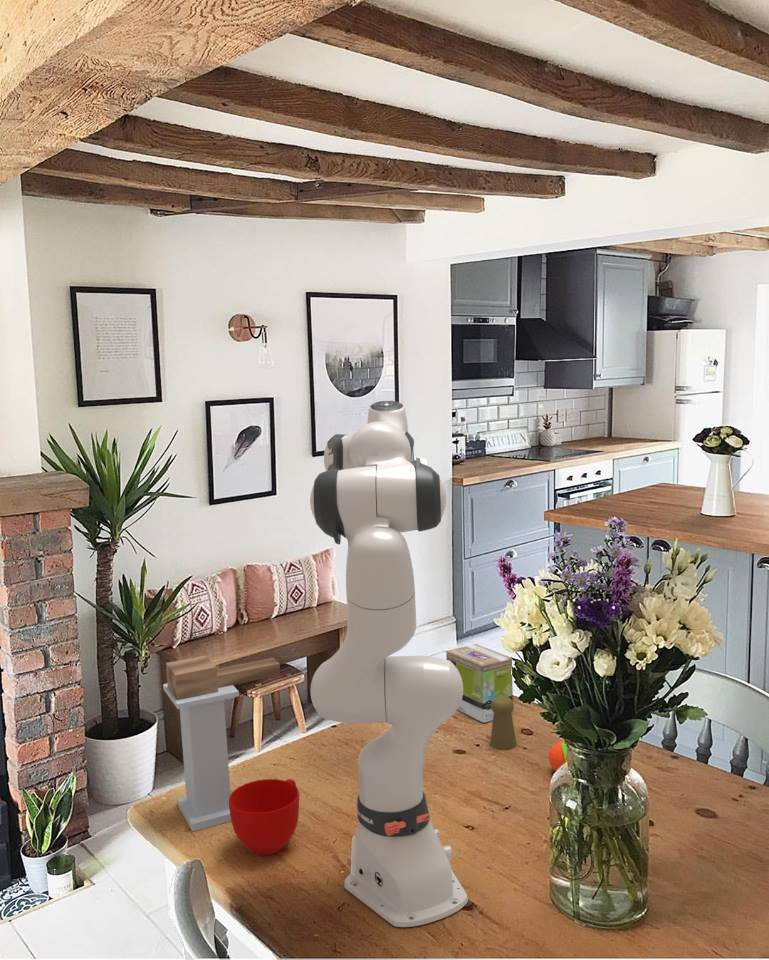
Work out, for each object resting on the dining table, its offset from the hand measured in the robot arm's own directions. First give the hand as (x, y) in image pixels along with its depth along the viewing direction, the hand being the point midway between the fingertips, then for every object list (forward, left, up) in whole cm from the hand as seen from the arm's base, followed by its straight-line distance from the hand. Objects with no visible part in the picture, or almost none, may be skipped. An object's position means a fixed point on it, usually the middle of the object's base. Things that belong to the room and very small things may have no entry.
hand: (390, 518), depth 204 cm
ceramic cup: (-28, +41, -53) cm, 73 cm away
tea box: (+4, -25, -53) cm, 58 cm away
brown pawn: (-16, -19, -53) cm, 58 cm away
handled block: (-11, +44, -26) cm, 52 cm away
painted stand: (-11, +49, -52) cm, 73 cm away
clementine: (-35, -22, -53) cm, 67 cm away
